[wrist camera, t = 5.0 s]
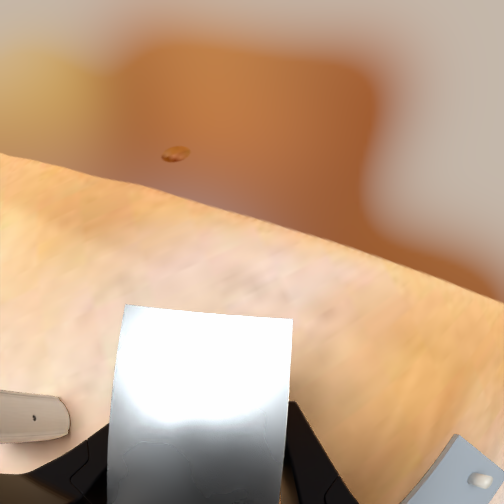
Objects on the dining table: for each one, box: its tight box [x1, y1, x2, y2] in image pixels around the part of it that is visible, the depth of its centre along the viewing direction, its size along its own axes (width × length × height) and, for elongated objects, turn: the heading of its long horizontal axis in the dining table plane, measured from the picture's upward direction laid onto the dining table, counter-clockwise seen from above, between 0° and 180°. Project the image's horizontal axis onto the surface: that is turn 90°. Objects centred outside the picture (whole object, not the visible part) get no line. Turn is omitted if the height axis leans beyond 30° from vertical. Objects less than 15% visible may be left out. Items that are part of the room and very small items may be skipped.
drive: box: [107, 304, 293, 504], centre depth 10 cm, size 7×4×11 cm, turn 176°
